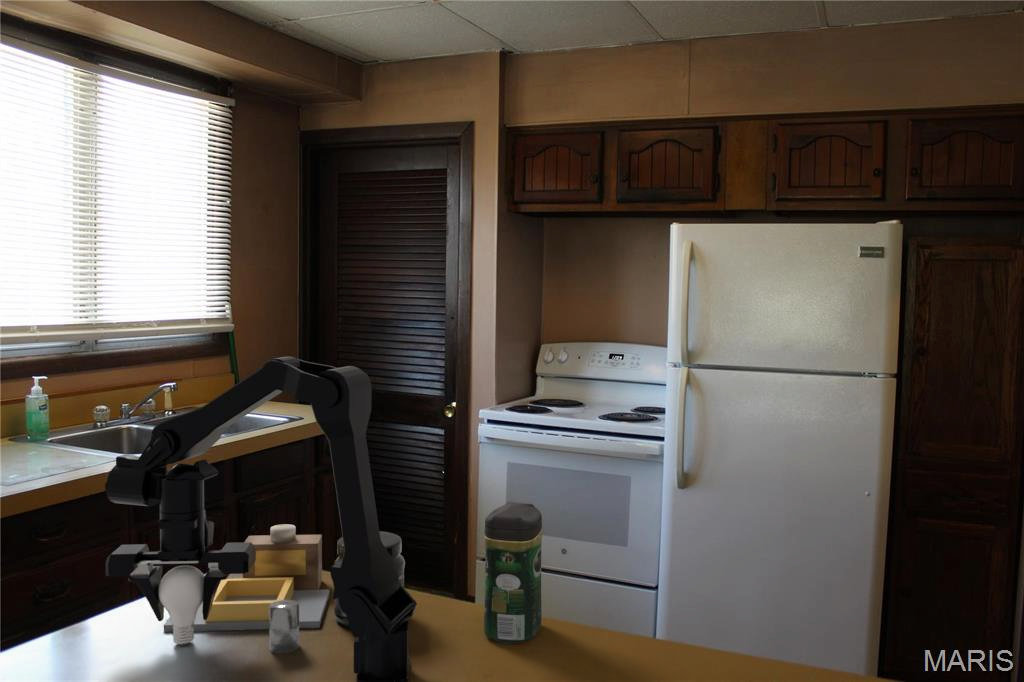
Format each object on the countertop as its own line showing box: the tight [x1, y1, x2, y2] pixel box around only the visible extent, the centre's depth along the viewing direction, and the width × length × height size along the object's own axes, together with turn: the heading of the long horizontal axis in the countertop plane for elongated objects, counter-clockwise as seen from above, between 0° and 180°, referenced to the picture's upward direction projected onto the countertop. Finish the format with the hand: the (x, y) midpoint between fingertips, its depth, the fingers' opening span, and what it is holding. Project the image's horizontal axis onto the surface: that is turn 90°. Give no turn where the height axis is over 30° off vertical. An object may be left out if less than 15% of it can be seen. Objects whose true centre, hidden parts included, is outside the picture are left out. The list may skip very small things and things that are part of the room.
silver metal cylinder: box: [268, 600, 300, 655], centre depth 118 cm, size 4×4×6 cm
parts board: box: [163, 577, 330, 633], centre depth 130 cm, size 22×13×4 cm, turn 96°
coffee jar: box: [483, 501, 543, 645], centre depth 124 cm, size 10×8×19 cm
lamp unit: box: [242, 523, 323, 590], centre depth 141 cm, size 12×5×10 cm, turn 96°
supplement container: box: [333, 530, 406, 628], centre depth 129 cm, size 10×10×12 cm
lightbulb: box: [158, 565, 205, 646], centre depth 118 cm, size 6×6×11 cm
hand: (183, 619), depth 119 cm, fingers closed on lightbulb, 6 cm apart
